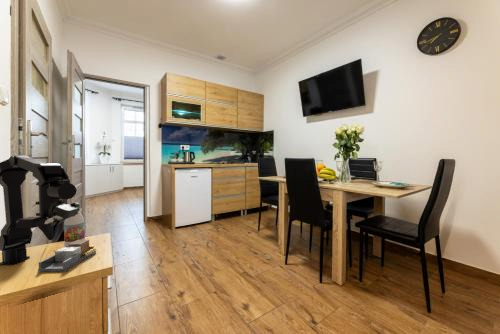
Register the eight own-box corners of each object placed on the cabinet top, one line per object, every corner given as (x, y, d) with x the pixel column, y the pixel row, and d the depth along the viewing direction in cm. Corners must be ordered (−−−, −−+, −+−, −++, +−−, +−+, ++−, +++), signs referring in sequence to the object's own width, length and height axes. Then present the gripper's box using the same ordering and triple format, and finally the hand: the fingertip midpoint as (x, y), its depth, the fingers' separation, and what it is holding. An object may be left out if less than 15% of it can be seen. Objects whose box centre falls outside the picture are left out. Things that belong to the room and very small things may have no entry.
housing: (68, 256, 89) (68, 244, 89) (77, 251, 94) (77, 239, 94) (80, 255, 89) (80, 244, 89) (89, 250, 94) (89, 239, 94)
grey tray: (38, 272, 78) (37, 262, 78) (73, 252, 95) (73, 245, 95) (65, 271, 79) (65, 262, 79) (96, 252, 95) (96, 244, 95)
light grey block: (55, 261, 84) (54, 251, 84) (66, 255, 89) (65, 245, 89) (73, 260, 84) (72, 250, 84) (83, 255, 89) (82, 245, 89)
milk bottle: (61, 245, 103) (60, 204, 102) (81, 240, 109) (80, 202, 109) (68, 249, 99) (67, 206, 98) (87, 243, 105) (86, 203, 105)
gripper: (48, 202, 69) (50, 250, 69) (90, 193, 87) (91, 231, 88) (13, 202, 68) (15, 250, 69) (63, 194, 87) (64, 231, 87)
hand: (51, 239), depth 78 cm, fingers closed
